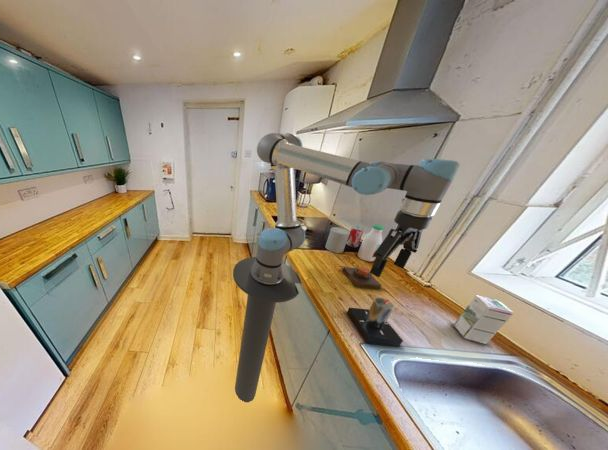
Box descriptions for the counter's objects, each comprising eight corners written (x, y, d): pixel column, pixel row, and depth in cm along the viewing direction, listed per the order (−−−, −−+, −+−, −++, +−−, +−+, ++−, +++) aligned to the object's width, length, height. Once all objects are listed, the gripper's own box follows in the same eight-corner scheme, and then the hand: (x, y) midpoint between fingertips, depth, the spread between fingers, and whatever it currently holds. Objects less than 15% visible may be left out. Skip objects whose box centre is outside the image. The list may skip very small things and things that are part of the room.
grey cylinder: (333, 243, 124) (339, 226, 119) (347, 251, 116) (354, 233, 111) (321, 245, 121) (327, 228, 116) (334, 254, 113) (341, 235, 108)
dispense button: (355, 270, 94) (356, 266, 93) (364, 270, 94) (365, 267, 93) (360, 275, 90) (362, 271, 89) (369, 276, 90) (371, 272, 89)
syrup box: (487, 344, 65) (517, 313, 59) (462, 338, 67) (489, 306, 61) (474, 330, 69) (500, 299, 63) (451, 324, 71) (475, 294, 65)
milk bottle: (365, 262, 106) (379, 229, 98) (353, 254, 113) (365, 222, 105) (377, 261, 107) (392, 228, 99) (365, 253, 114) (378, 222, 106)
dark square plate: (342, 270, 99) (344, 263, 98) (363, 272, 98) (366, 265, 97) (355, 287, 88) (358, 279, 87) (379, 289, 88) (383, 282, 86)
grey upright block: (377, 331, 65) (389, 310, 61) (361, 319, 69) (371, 299, 65) (386, 325, 67) (398, 305, 63) (370, 314, 71) (380, 295, 67)
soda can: (358, 245, 123) (365, 228, 118) (356, 249, 119) (363, 231, 114) (346, 241, 127) (353, 225, 122) (344, 245, 123) (350, 227, 118)
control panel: (346, 313, 75) (349, 307, 74) (374, 316, 74) (377, 309, 73) (366, 343, 64) (369, 336, 63) (399, 346, 63) (403, 340, 62)
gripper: (421, 205, 67) (395, 257, 76) (375, 213, 58) (352, 271, 67) (453, 212, 61) (420, 268, 69) (406, 223, 52) (376, 286, 61)
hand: (386, 270), depth 68 cm, fingers open, 13 cm apart
